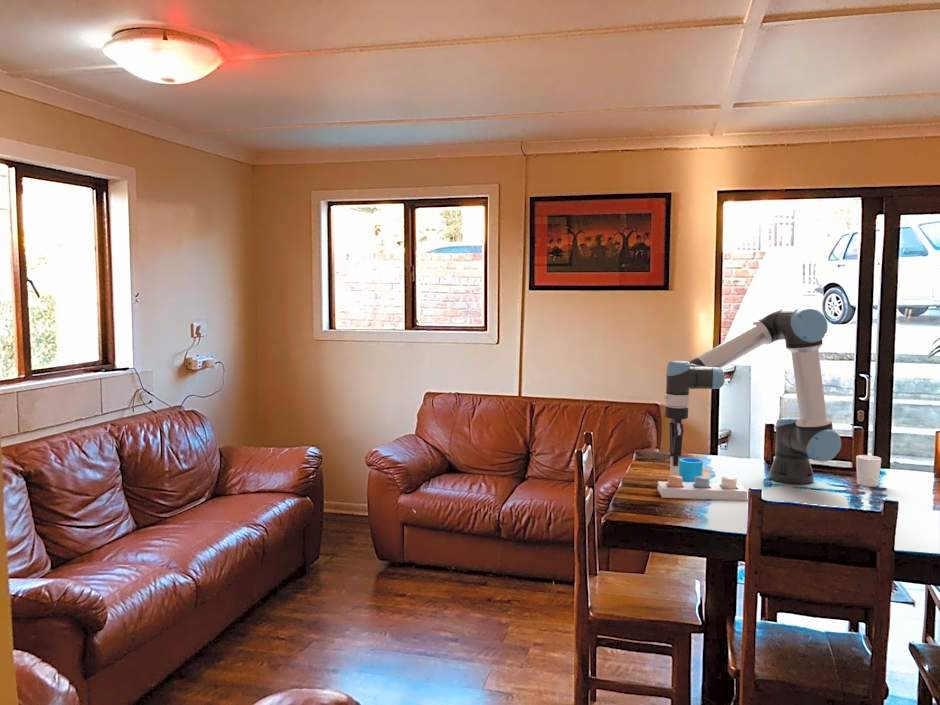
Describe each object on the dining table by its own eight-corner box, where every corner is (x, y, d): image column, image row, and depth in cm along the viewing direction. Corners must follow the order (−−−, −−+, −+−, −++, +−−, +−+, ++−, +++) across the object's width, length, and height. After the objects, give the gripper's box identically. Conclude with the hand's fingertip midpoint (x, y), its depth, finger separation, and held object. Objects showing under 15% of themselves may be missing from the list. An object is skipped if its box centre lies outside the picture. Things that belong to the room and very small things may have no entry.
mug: (706, 484, 265) (707, 462, 264) (686, 485, 263) (686, 463, 262) (688, 476, 277) (689, 455, 276) (669, 477, 275) (669, 456, 274)
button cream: (734, 488, 252) (734, 476, 252) (737, 491, 247) (738, 480, 247) (719, 487, 253) (720, 476, 252) (723, 491, 248) (723, 479, 247)
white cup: (878, 483, 268) (880, 456, 267) (880, 488, 260) (882, 460, 260) (854, 480, 271) (855, 454, 270) (855, 485, 264) (857, 458, 263)
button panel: (739, 492, 255) (740, 483, 254) (747, 500, 245) (748, 491, 244) (657, 489, 257) (657, 481, 257) (662, 497, 247) (662, 488, 247)
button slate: (707, 487, 253) (707, 476, 253) (710, 491, 248) (710, 479, 248) (693, 487, 253) (693, 475, 253) (695, 490, 249) (696, 479, 248)
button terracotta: (680, 486, 254) (680, 475, 254) (683, 490, 249) (683, 478, 249) (666, 486, 254) (666, 474, 254) (668, 489, 250) (669, 478, 249)
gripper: (662, 403, 256) (660, 469, 258) (668, 409, 243) (666, 478, 245) (684, 403, 256) (682, 470, 257) (692, 409, 243) (689, 479, 244)
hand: (674, 474), depth 251 cm, fingers closed
